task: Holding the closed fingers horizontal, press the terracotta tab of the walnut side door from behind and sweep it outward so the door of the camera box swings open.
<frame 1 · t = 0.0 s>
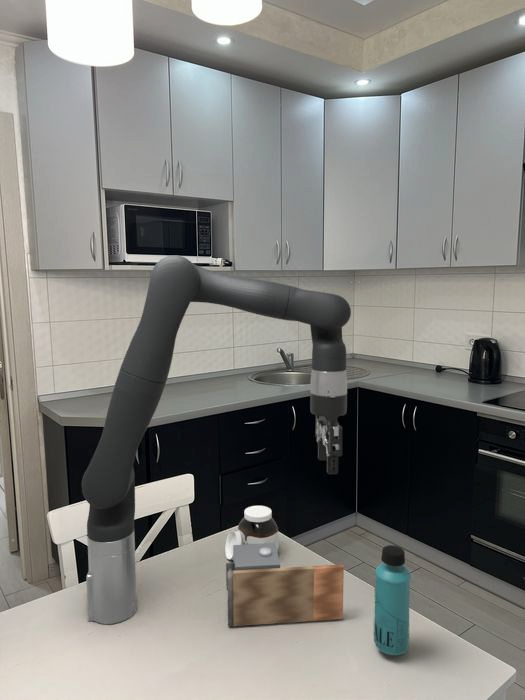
hand: (327, 466, 109), 29 cm above the table, tool pointing down, fingers open, 8 cm apart
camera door: (285, 595, 103), point 6 cm above the table, hinge at 0.0°
spread jar: (250, 557, 130), on the table
beverage bottle: (390, 652, 96), on the table
camera box: (256, 608, 109), on the table
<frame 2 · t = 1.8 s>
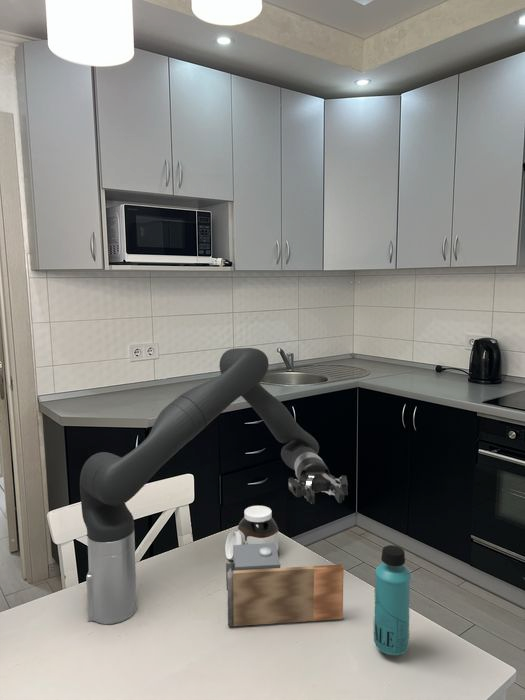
hand: (326, 499, 110), 22 cm above the table, tool horizontal, fingers open, 5 cm apart
nothing on the table moved.
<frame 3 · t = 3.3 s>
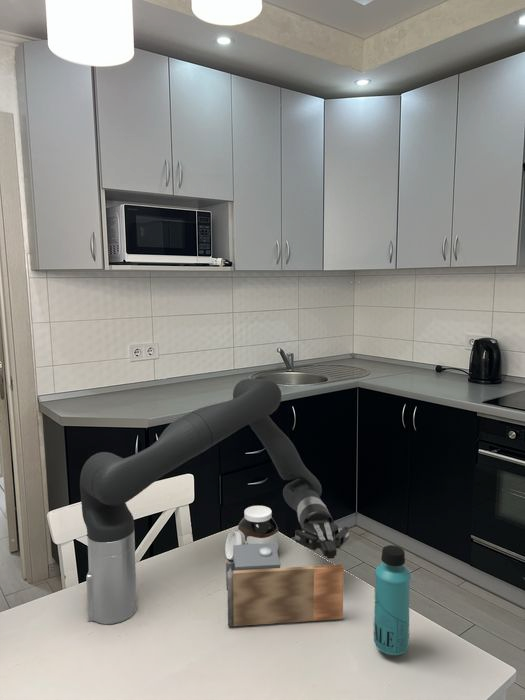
hand: (331, 554, 109), 11 cm above the table, tool horizontal, fingers closed
nothing on the table moved.
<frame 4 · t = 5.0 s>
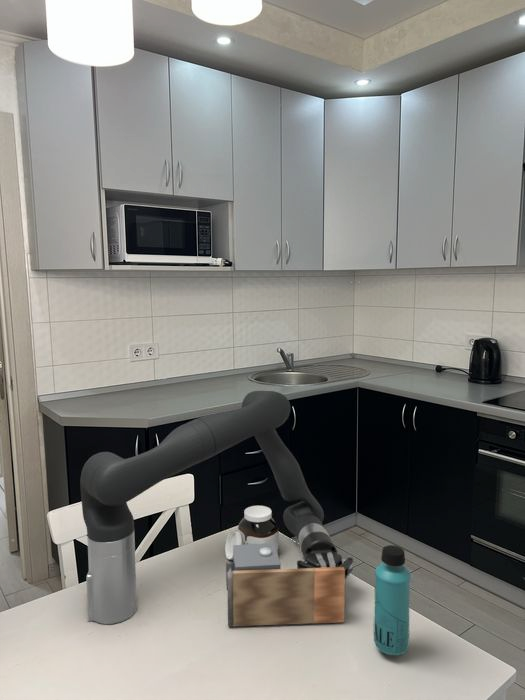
hand: (335, 588, 104), 7 cm above the table, tool horizontal, fingers closed
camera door: (286, 596, 103), point 6 cm above the table, hinge at 2.8°, touching gripper
everything else where it was.
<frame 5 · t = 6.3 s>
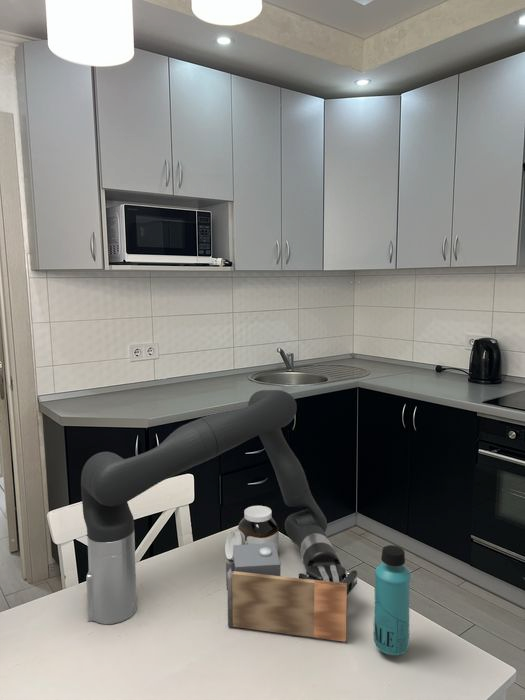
hand: (338, 604, 98), 7 cm above the table, tool horizontal, fingers closed
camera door: (285, 605, 100), point 6 cm above the table, hinge at 17.6°, touching gripper
everything else where it was.
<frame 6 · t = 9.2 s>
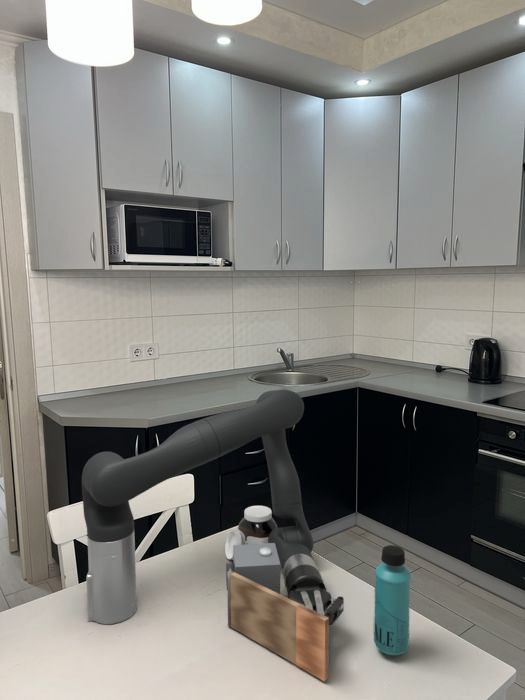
hand: (321, 636, 89), 7 cm above the table, tool horizontal, fingers closed
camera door: (273, 621, 95), point 6 cm above the table, hinge at 46.5°, touching gripper
everything else where it was.
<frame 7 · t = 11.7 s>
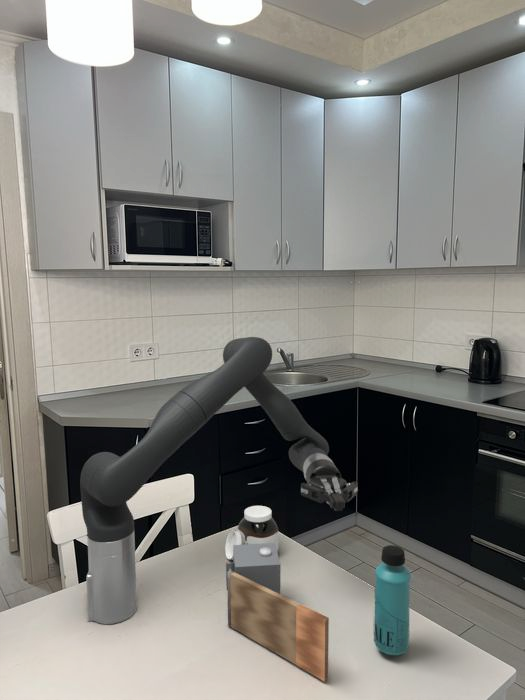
hand: (339, 506, 103), 24 cm above the table, tool horizontal, fingers closed
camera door: (273, 621, 95), point 6 cm above the table, hinge at 46.5°
everything else where it was.
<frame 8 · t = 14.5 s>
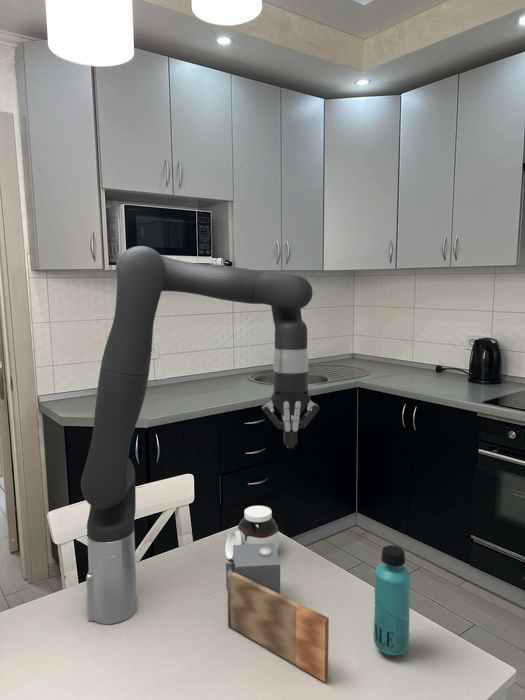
hand: (290, 446, 114), 32 cm above the table, tool pointing down, fingers closed
nothing on the table moved.
at the end: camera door at +46° (first picture: +0°) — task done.
